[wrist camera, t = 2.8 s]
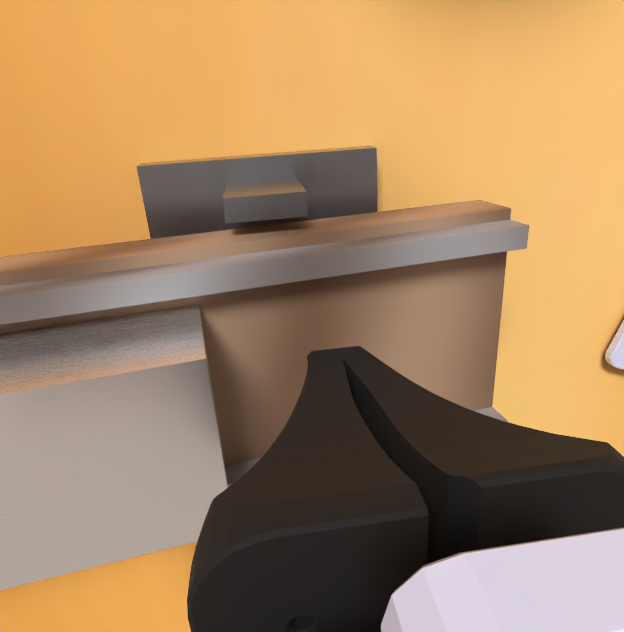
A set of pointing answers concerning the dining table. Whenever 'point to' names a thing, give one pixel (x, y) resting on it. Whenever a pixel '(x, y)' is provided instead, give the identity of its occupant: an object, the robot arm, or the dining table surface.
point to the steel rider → (104, 442)
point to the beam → (298, 303)
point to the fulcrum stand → (257, 190)
